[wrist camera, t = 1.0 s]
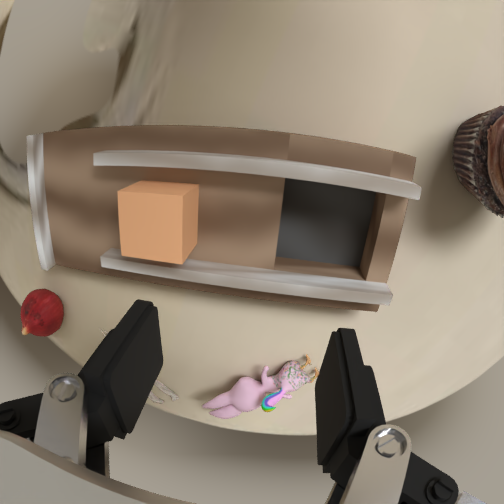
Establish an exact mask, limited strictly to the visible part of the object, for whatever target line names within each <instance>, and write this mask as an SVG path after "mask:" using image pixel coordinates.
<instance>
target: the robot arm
mask: <svg viewBox="0 0 504 504" xmlns="http://www.w3.org/2000/svg"><path fill="white" fill-rule="evenodd" d="M162 365H163V354H162V346H161V337H160V328H159V319H158V309H157V307H155V306H153V303H152V302H149V301H144V300H139V299H138V300H136V301H135V302H134V304H133V305H132V306H131V308H130V309H129V310H128V312H127V313H126V314H125V315H124V317H123V318H122V319H121V321H120V322H119V323H118V325H117V326H116V327H115V329H112V330H111V331H110V332H109V333H108V334H107V335H106V337H105V338H104V339H103V341H102V342H101V343H100V345H99V346H98V348H97V349H96V350H95V352H94V353H93V354H92V356H91V357H90V358H89V360H88V361H87V363H86V364H85V365H84V367H83V368H82V370H81V371H80V373H79V374H78V375H75V374H72V373H61V374H58V375H55V376H53V377H52V378H50V380H49V381H48V382H47V383H46V386H45V389H44V393H40V394H36V395H33V396H28V397H25V398H20V399H16V400H12V401H8V402H4V403H2V404H0V504H195V503H191V502H186V501H182V500H178V499H174V498H170V497H166V496H162V495H159V494H156V493H152V492H149V491H146V490H142V489H139V488H136V487H133V486H130V485H127V484H124V483H122V482H119V481H116V480H113V479H111V478H110V470H109V441H111V440H112V439H113V437H114V436H115V437H118V438H121V439H124V438H125V436H126V434H127V433H129V434H130V433H131V432H132V431H133V429H134V426H135V424H136V422H137V420H138V418H139V416H140V413H141V411H142V409H143V407H144V405H145V402H146V400H147V398H148V396H149V394H150V392H151V390H152V387H153V385H154V383H155V381H156V379H157V377H158V375H159V373H160V370H161V368H162ZM315 401H316V425H317V457H318V465H323V473H330V476H331V478H332V479H333V480H335V483H334V486H333V488H332V490H331V492H330V494H329V496H328V498H327V500H326V502H325V504H486V503H485V502H483V501H481V500H479V499H477V498H476V497H474V496H472V495H470V494H469V493H467V492H465V491H463V492H462V493H460V492H459V491H458V486H457V484H456V482H455V480H454V479H452V478H451V477H450V476H448V475H447V474H445V473H443V472H442V471H440V470H439V469H437V468H435V467H434V466H432V465H431V464H429V463H428V462H426V461H425V460H423V459H421V458H420V457H418V456H417V455H415V454H414V453H412V452H411V440H410V437H409V436H408V434H407V433H406V432H405V431H404V430H403V429H402V428H400V427H398V426H395V425H389V424H386V422H385V417H384V413H383V409H382V404H381V400H380V396H379V392H378V388H377V384H376V380H375V376H374V372H373V369H372V367H371V366H366V365H364V364H363V360H362V356H361V352H360V348H359V344H358V340H357V336H356V332H355V330H354V329H347V328H338V330H337V332H335V331H333V332H332V334H331V337H330V340H329V344H328V347H327V350H326V353H325V356H324V359H323V363H322V366H321V369H320V372H319V375H318V378H317V380H316V384H315Z"/></svg>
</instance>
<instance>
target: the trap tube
mask: <svg viewBox="0 0 504 504" xmlns="http://www.w3.org/2000/svg"><path fill="white" fill-rule="evenodd" d="M415 162H416V157H413V156H410V155H407V154H403V153H399V152H395V151H390V150H386V149H381V148H377V147H372V146H367V145H362V144H357V143H351V142H346V141H340V140H334V139H328V138H322V137H315V136H308V135H301V134H293V133H285V132H277V131H267V130H257V129H245V128H231V127H214V126H188V125H137V126H112V127H95V128H82V129H72V130H62V131H54V132H47V133H41V134H36V135H30V136H27V166H28V181H29V193H30V203H31V211H32V219H33V226H34V232H35V238H36V244H37V249H38V255H39V260H40V265H41V269H43V270H47V271H48V270H49V269H50V268H52V267H53V266H54V265H60V266H65V267H70V268H75V269H80V270H85V271H90V272H95V273H100V274H105V275H111V276H116V277H121V278H127V279H132V280H138V281H144V282H150V283H155V284H161V285H167V286H173V287H180V288H186V289H192V290H199V291H206V292H212V293H219V294H226V295H233V296H240V297H248V298H255V299H263V300H271V301H279V302H287V303H296V304H304V305H313V306H323V307H332V308H342V309H352V310H363V311H375V312H377V311H378V308H379V305H390V302H391V299H392V297H393V294H392V292H391V291H390V289H389V287H388V285H387V280H388V277H389V274H390V270H391V267H392V264H393V260H394V256H395V253H396V249H397V245H398V242H399V238H400V234H401V230H402V226H403V222H404V217H405V213H406V209H407V204H408V199H409V198H411V199H416V200H419V199H420V195H421V190H422V187H421V186H419V185H417V184H415V183H413V182H412V179H413V174H414V168H415ZM141 180H146V181H163V182H178V183H191V184H199V200H198V232H197V245H196V246H195V247H194V249H193V250H192V252H191V253H190V254H189V256H188V257H187V259H186V260H185V262H184V263H183V264H175V263H168V262H161V261H154V260H147V259H141V258H134V257H127V256H122V255H121V244H120V231H119V215H118V192H117V191H119V190H121V189H123V188H125V187H128V186H130V185H132V184H134V183H136V182H139V181H141Z"/></svg>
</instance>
